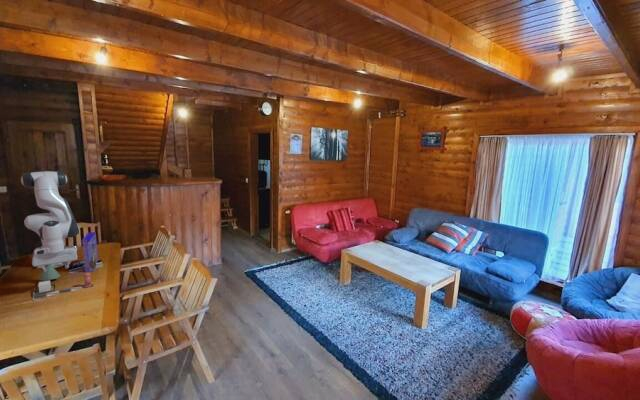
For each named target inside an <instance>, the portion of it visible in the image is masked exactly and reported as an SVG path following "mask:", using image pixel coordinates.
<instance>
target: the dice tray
mask: <svg viewBox="0 0 640 400" xmlns="http://www.w3.org/2000/svg"><path fill="white" fill-rule="evenodd" d="M52 286H53V287H54V289H51V290H50V291H45V292H40V293H39V286H35V287H33V293H32V297H33V296H37V295H41V294H47V293H51V292H55V291H57V282H55V283H51V287H52Z"/></svg>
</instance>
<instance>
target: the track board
mask: <svg viewBox="0 0 640 400" xmlns="http://www.w3.org/2000/svg"><path fill="white" fill-rule="evenodd" d="M91 287H92V288H93V287H94V283H92V286H91ZM91 287H90V288H91ZM88 288H89V287H87V288H85V287H84V285H80V286H76V287H75V286H74V287H71V288H66V289H61V290H56V291H54V292H49V293H45V294H41V295H37V296H33V295H32V301H33V300H34V301H38V300H42V299H45V298H46V297H51V296H52V297H53V296H55V295H59V294H64V293H69V292H74V291H78V290H82V289H88Z"/></svg>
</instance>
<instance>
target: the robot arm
mask: <svg viewBox="0 0 640 400" xmlns="http://www.w3.org/2000/svg"><path fill="white" fill-rule="evenodd" d="M20 182H21V184H22V186H23V187H24V188H26V189H34V190H33V191H34V197H35V200H36V205H37V207H38V208H40V209H43V210H46V211H49V212H44V213H35V214H30V215H27V216H26V217H25V218H24V222H23V223H24V226H25V227H26V229H28V230H30V231H33V232H35V233H36V234H37V235H38V236H39V239H40V241H41V246H38V247H36V248H34V250H33V255H32V260H31V264H32V267H33V268H34V267H35V266H37V267H36V268H37V269H43V270H44V272H47V271H48V268H45V265H48V264H51V265H52V266H53V268H54V269H57V268H61V267H65V269H69V268H70V266H69V265H70V264H71V263H73V261H76V260H78V253H77V252H78V247H77V246H76V245H67V246H65V242H64V240H63V239H65V238H68V239H69V238H75V237H77V235H78V236H79V234H80V230H81V228H80V226H79V224H78V223H77V220H76V218H75V215H74V213H73V211H72V209H71V207H70V206H71V205H70V204H69V202H68V201H67V200H68V199H66V198H64V197H62V196H61V195H60V193H59V188H62V187H64V186H66V185H67V183H68V177H67V174H66V173H65V172H63V171H51V170H50V171H47V170H46V171H33V172H30V171H29V172H24V173H23V174H22V175H21V178H20ZM59 263H62V264H63V265H62V264H59Z"/></svg>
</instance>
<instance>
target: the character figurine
mask: <svg viewBox="0 0 640 400" xmlns="http://www.w3.org/2000/svg"><path fill="white" fill-rule="evenodd" d="M59 264H62V263H59ZM62 265H63V264H62ZM36 268H37V266H35V267H34V266H33V267H32V268H31V269H30V270H29V271H30V272H32V271H34V270H36ZM45 268H48V271H47V272H44V269H43V270H42V272H41V274H40V276H39V278H38V280H39V281H48V280H50V281H52V282H54V281H56V279H58V278H59V277H61V274H59V272H58V271H57V270H56V268H53V266H52V265H51V264H48V265H45Z"/></svg>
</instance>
